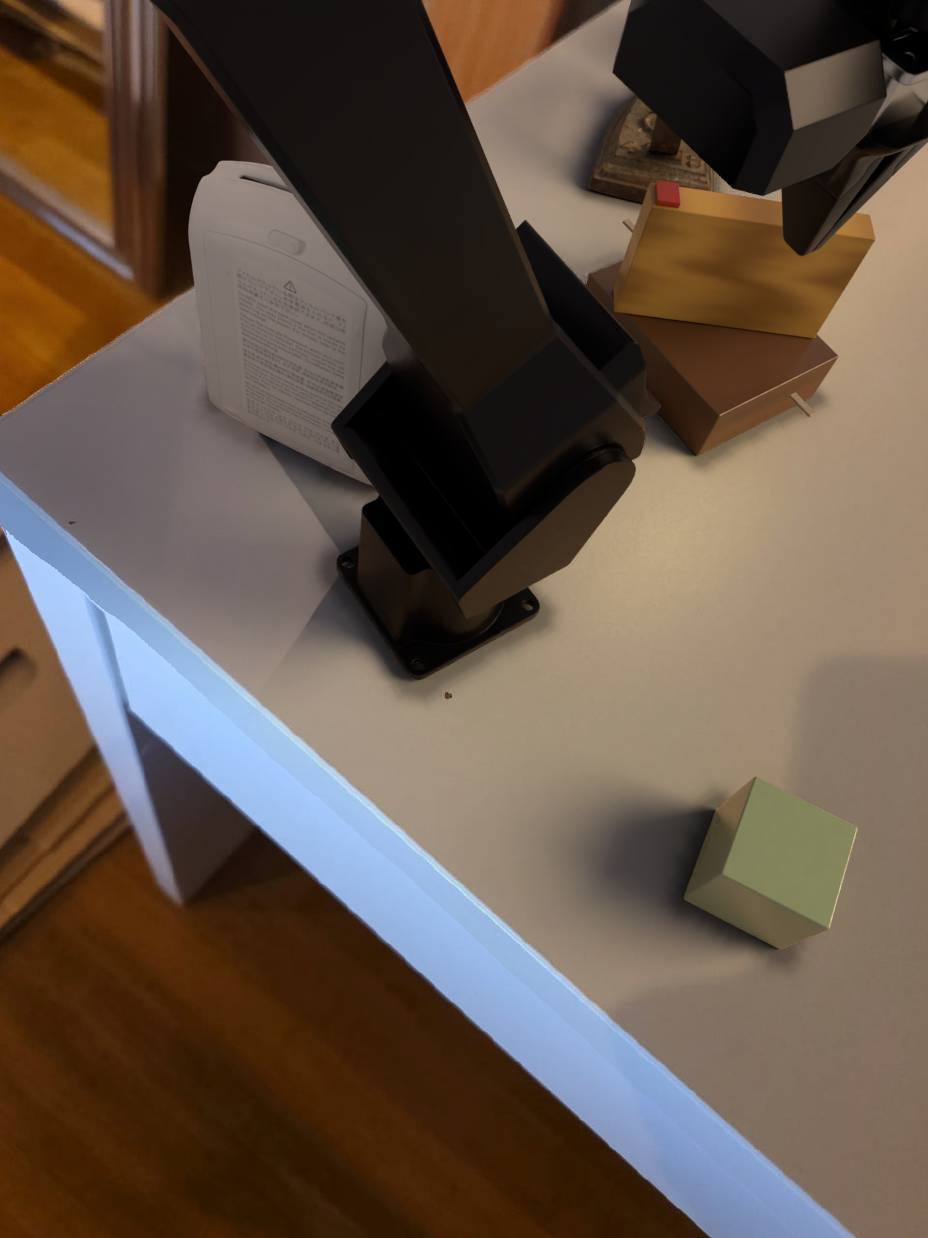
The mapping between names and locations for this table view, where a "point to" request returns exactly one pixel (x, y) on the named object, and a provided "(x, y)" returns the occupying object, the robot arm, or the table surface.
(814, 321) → the wooden rectangular block
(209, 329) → the photo printer
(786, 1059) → the table surface
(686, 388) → the block
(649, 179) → the clothes iron
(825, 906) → the cube
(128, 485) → the table surface
